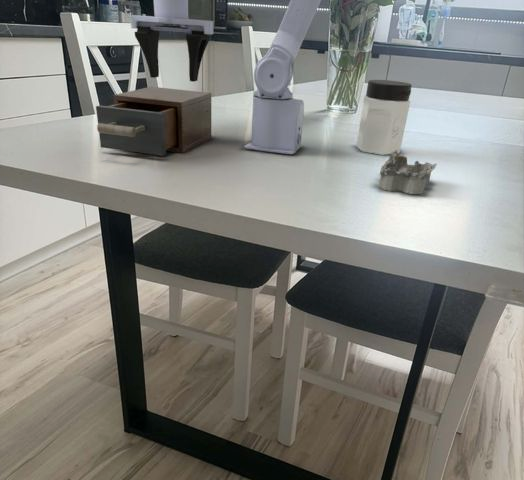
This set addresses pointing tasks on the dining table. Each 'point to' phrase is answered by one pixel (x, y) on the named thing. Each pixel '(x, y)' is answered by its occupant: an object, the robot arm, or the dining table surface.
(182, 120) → the cabinet
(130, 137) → the drawer
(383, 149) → the jar
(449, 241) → the dining table surface
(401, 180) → the egg carton
